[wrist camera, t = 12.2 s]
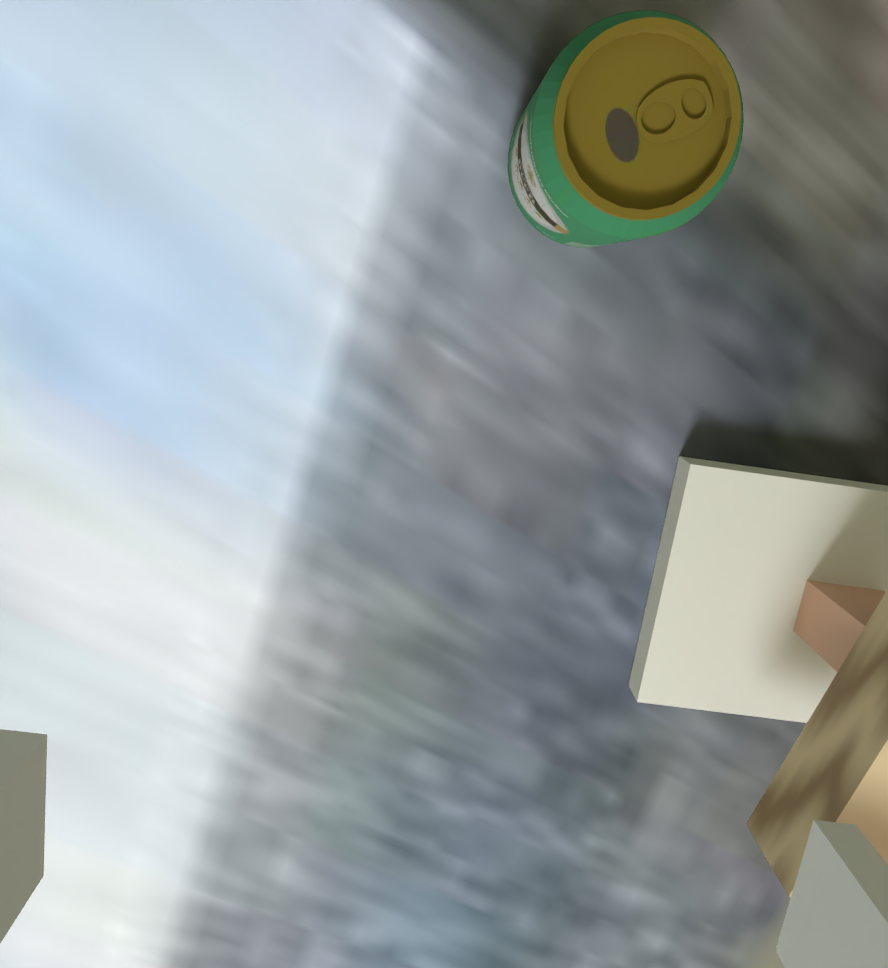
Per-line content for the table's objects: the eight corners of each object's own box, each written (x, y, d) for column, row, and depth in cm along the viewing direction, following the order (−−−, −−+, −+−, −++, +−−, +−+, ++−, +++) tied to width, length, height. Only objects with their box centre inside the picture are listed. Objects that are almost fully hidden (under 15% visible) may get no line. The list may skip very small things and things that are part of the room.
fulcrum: (679, 456, 45) (732, 493, 37) (1022, 504, 46) (1144, 550, 38) (628, 684, 48) (667, 762, 40) (950, 724, 49) (1048, 807, 42)
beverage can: (482, 117, 40) (506, 51, 29) (634, 53, 40) (721, -40, 28) (537, 271, 42) (579, 269, 31) (683, 213, 42) (782, 187, 30)
